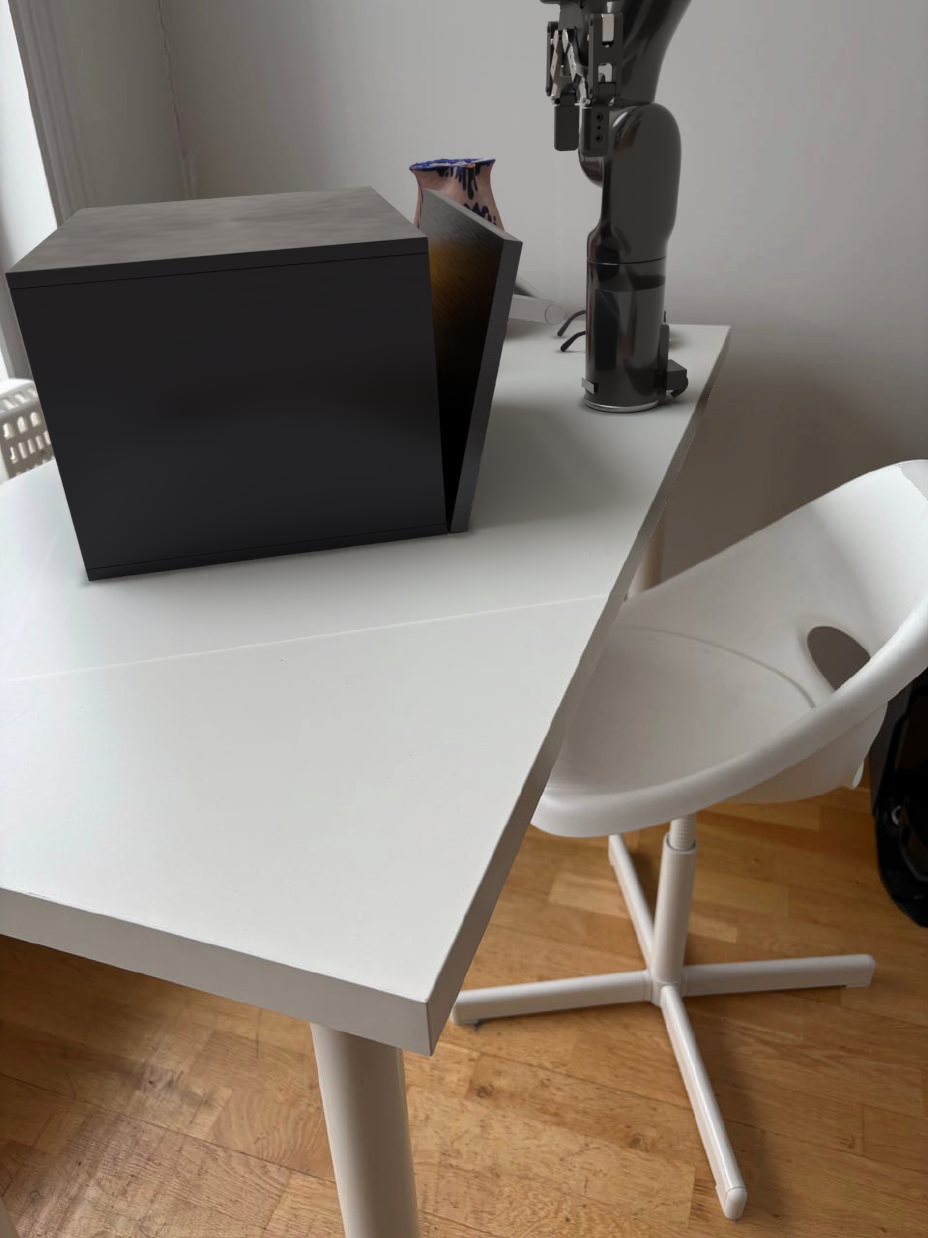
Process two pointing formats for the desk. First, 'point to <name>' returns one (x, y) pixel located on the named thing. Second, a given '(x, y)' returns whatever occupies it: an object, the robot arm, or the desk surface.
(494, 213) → the ceramic pitcher
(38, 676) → the desk surface
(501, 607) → the desk surface
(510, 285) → the oven door
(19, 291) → the oven
